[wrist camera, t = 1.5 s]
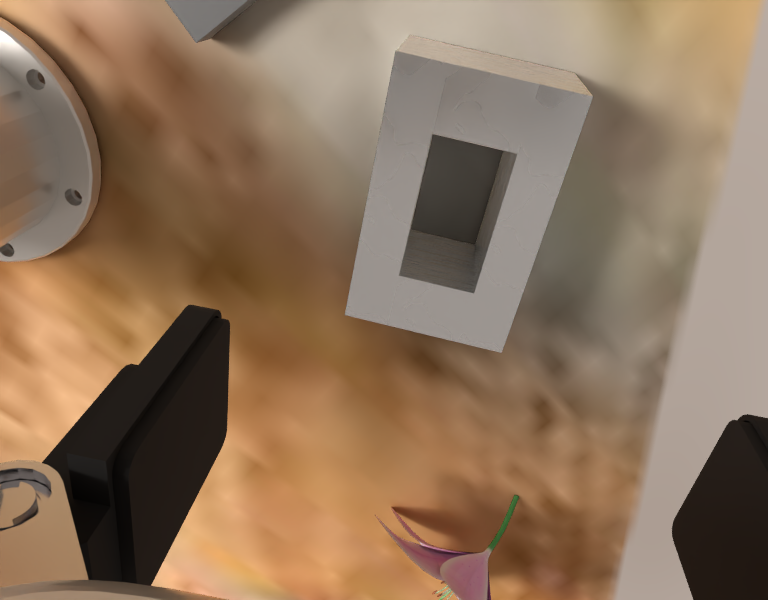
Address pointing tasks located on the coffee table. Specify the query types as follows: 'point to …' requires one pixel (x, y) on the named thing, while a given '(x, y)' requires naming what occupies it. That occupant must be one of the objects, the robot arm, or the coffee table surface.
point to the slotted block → (506, 202)
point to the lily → (453, 562)
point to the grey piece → (207, 15)
